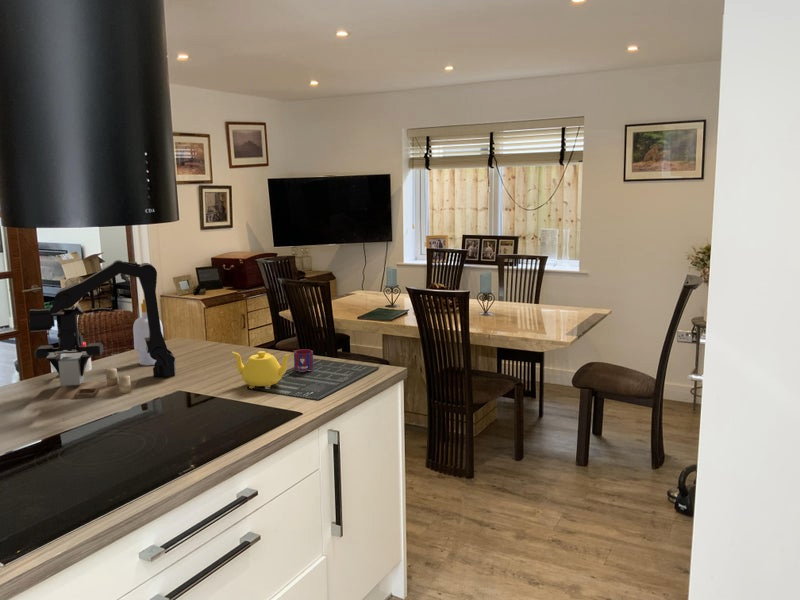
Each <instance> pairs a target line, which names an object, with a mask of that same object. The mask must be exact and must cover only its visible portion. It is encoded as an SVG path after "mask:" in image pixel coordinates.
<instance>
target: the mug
mask: <svg viewBox="0 0 800 600" xmlns="http://www.w3.org/2000/svg"><path fill="white" fill-rule="evenodd" d="M293 366H294V369H295V370H298V371H308V370H312V369H313V370H314V350H311V349H305V348H304V349H297V350H295V351H293ZM295 370H294V371H295Z"/></svg>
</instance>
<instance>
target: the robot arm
mask: <svg viewBox="0 0 800 600" xmlns="http://www.w3.org/2000/svg"><path fill="white" fill-rule="evenodd" d="M120 274H121V275H126V276H129V277H134V278H138V280H139V284H140V286H141V289H142V292H143V299H145V306H146V313H147V320H148V327H149V337H148V338H144V339H145V342H146V351H147V353H149V354H150V356H151V358H153V359H154V360H156V362H155V365H153V367H152V373H153V375H152V376H153V378H159V379H167V378H171V377H176V375H177V372H176V368H177V367H176V358H175V355H174V353H173V351H171V350H169V348H167V347H168V346H167V344H166V342H165V339H164V334H163V335H162V332H161V326H160V321H161V318H160V313H159V312H160V311H159V305H158V298H157V293H156V292H157V291H156V289H157V283H158V282H157V281H158V280H157V279H158V272H157V269H156V268H155V267H154V266H153V265H152V263H148V262H143V263H142V262H141V264H140V263H135V262H128V261H123V260H120V259H117V260H114V261H113V262H112V263H111V264H109V265H107V266H105V267H103V269H100V270H99V271H97V272H95V273H93V274H92V275H90V276H89V277H87V278H85V279H83V280H82V281H79V282H77V283H74V284H70V285H68V286H65V287H62V288H60V289H59V290H57V291H56V293H55V295H54V298H53V299H54V302H53V303H52V304H51V305H50V306H49V308H43V309H29V311H28V314H29V317H28V318H29V321H28V326H29V331H30V333H32V332H33V333H35V332H43V331H46V332H47V331H51V330H52V329H53V328H54V327H55V325H56V326H57V327H56V328H57V338H58V341H57V342H58V347H54V345H53V344H51V345H49V344H47V345H40V346H38V348H36V349H35V351H34V358H35V359H45V361H49V363H50V364H51V365H52V366H53V367H54V369H55V371H56V372H57V373H58V375H59V376H60V374H59V363H58V362H59V361H60V360H61V359H62V358H61V357H62V355H61V354H65V353H82V356H81V357H80V372H81V376H83V375H84V376H85V372H84V371H85V367H86V364H87V361H88V359H89V358H90V357H91V358H92V357H93V356H98V355H101V354H102V353H103V352H104V345H103V343H102V342H90V343H88V344H86V346H84V347H80V346H81V345H83V342H84V335H82V334H80V329H79V325H78V323H79V322H78V315H82V314H84V311H83V309H81V308H79V306H78V305H76V306H75V304H77V303H79V301H80V300H81V299H82V298H84V296H85V295H86V294H89V292H91V291H93V290H94V289H96V288H98V287H100V286H101V285H103V284H105V283H106V282H109V281H110V280H112V279H113V278H115V277H117V276H119V275H120ZM73 306H74V308H72V307H73ZM62 310H63V311H62ZM60 311H61V312H60ZM55 317H56V324H55ZM66 350H68V351H66Z"/></svg>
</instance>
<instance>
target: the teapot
mask: <svg viewBox="0 0 800 600" xmlns="http://www.w3.org/2000/svg"><path fill="white" fill-rule="evenodd" d="M231 353H232V354H233V355H234V356H235V358H236V369H237V372H238V373H239V374H240V375H241V378H242V379H241V380H243V381H244V383H245V384H247V385H248V387H249V388H253V387H255V386H256V387H264V388H265V387H270V386H272V385H276V384H278V383H279V382H280V380H281V379H282V377H283V376H284V375H285V373H286V372H287V369H288V358H289V356H290V355H292V352H290V353H286V354H285V355H283V357H282V364H281V365H280V363H279V362H278V360H277V358H276V357H275V356H274V355H273V354H270V353H269V352H266V351H264V350H261V351H257V354H253V355H251V356H249V357H248V359H247V361H246V362H245V364H244V363H243V362H242V357H241V355H240V353H238V352H236V351H231ZM256 387H255V388H256Z"/></svg>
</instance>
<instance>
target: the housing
mask: <svg viewBox="0 0 800 600" xmlns="http://www.w3.org/2000/svg"><path fill="white" fill-rule="evenodd" d="M80 357H81V356H76V357H66V356H63V357H62V358H61V360H60V361H59V362H58V363H59V374H60V375H59V374H58V375H59V382H60V384H59V385H60V387H61V386H65V385H80V384H81V383H84V380H85V374H84V375H83V376H81V372H80Z"/></svg>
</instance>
